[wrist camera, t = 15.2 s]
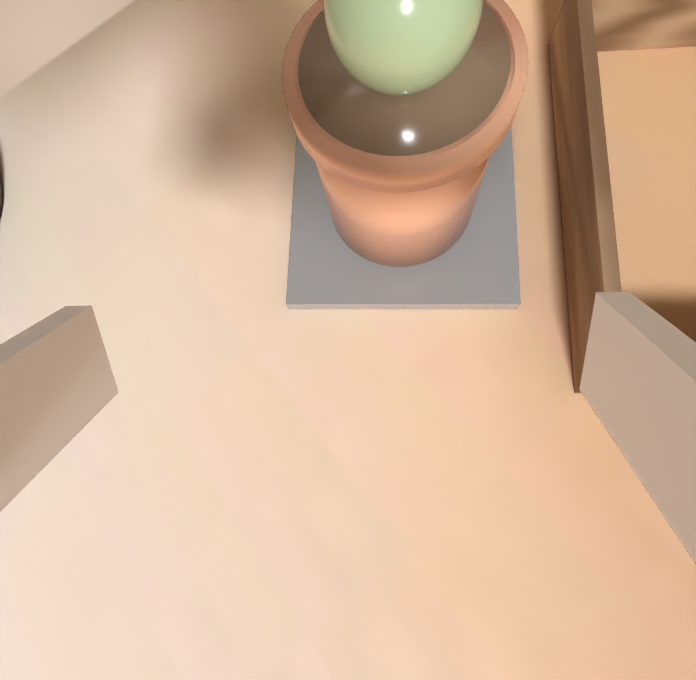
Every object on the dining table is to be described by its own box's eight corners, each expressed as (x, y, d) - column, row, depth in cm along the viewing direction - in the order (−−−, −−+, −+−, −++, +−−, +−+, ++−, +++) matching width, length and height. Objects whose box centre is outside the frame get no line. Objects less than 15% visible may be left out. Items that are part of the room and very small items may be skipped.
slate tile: (289, 308, 30) (285, 304, 29) (301, 117, 33) (298, 107, 32) (516, 308, 29) (520, 304, 28) (506, 108, 32) (509, 98, 31)
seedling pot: (304, 160, 31) (209, -133, 16) (448, 110, 31) (500, -238, 15) (348, 296, 29) (289, 111, 13) (506, 244, 29) (637, -9, 13)
